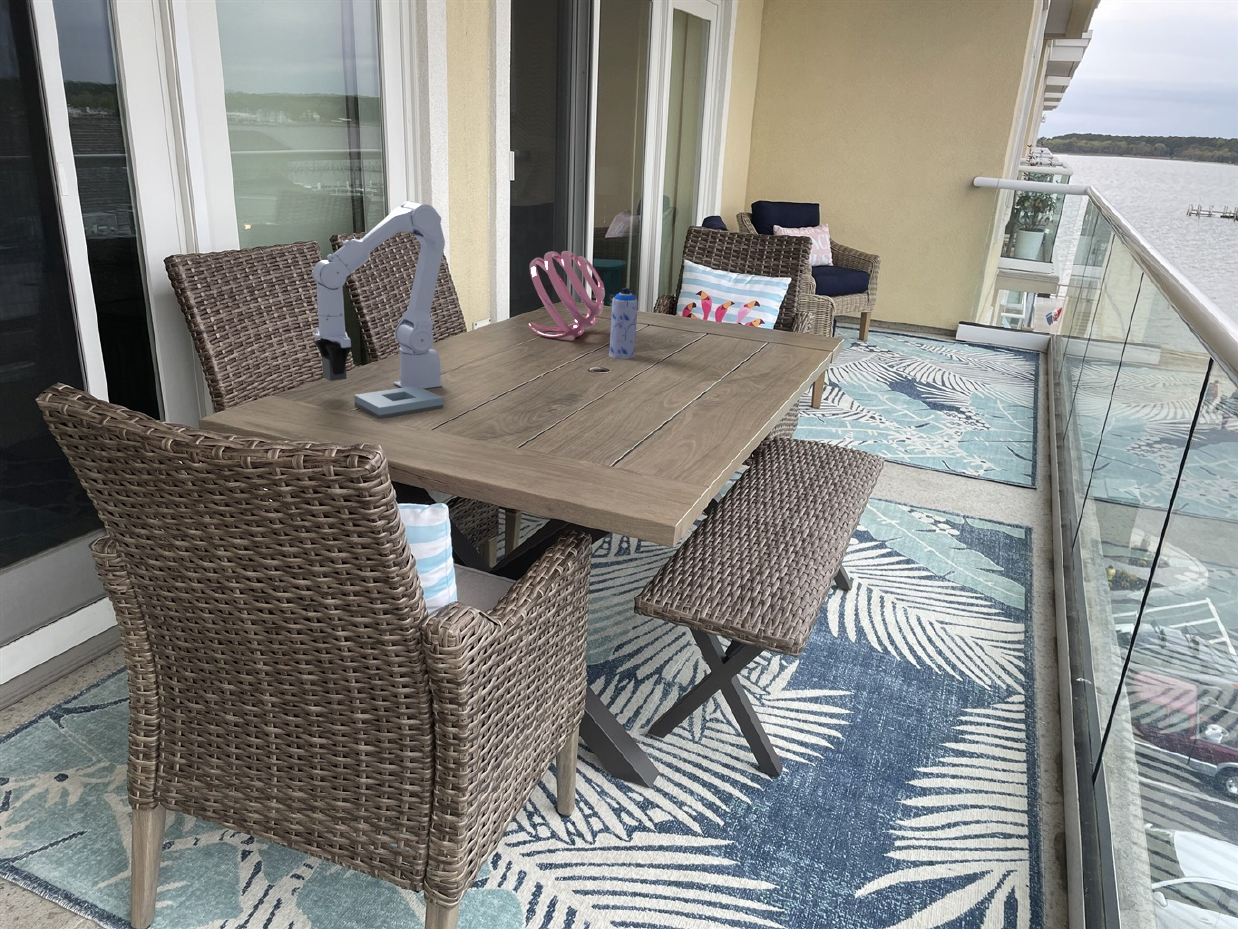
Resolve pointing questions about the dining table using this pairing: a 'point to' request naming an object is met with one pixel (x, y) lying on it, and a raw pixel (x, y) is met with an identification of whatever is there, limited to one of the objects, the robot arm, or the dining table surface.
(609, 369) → the dining table surface
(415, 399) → the pale blue socket slab
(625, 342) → the aerosol can
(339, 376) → the plug
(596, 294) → the spiral basket
